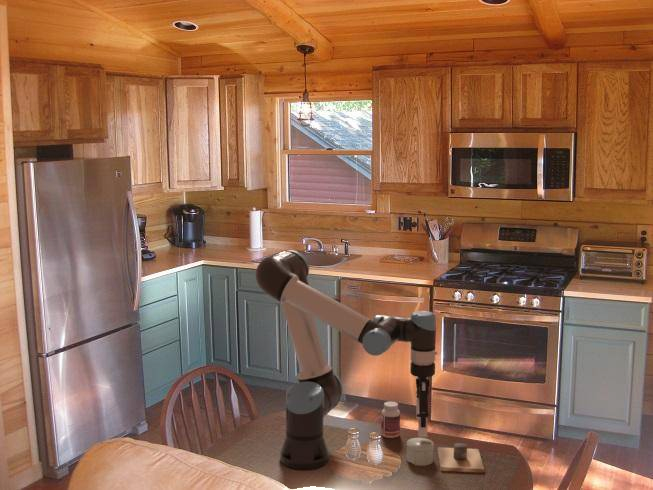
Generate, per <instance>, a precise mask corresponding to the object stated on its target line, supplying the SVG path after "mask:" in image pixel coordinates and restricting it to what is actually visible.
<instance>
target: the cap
mask: <svg viewBox="0 0 653 490" xmlns="http://www.w3.org/2000/svg"><path fill="white" fill-rule="evenodd" d="M434 444H435V443H434V442H433V441H432V440H431V439H428V438H427V437H413V438H409V439H408V440H407V441H406V462H407V461H409V462H411V463H412V464H411V463H410V464H411V465H413V464H414V466H421V467H424V466H425V467H426V466H428V465H430V464H433V462H434V446H435V445H434ZM409 462H408V463H409Z"/></svg>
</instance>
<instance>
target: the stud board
mask: <svg viewBox="0 0 653 490" xmlns="http://www.w3.org/2000/svg"><path fill="white" fill-rule="evenodd" d="M436 452H437V456H438V461H439V463H438V464H439V469H440V472H458V473H460V472H461V473H463V472H464V473H483V474H484V473H485V468H484V464H483V461H482V457H481V453H480V450H479V448H468V445H467V444H466V443H462V442H455V443H454V444H453V447H440V446H437V451H436Z"/></svg>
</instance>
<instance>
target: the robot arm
mask: <svg viewBox="0 0 653 490" xmlns="http://www.w3.org/2000/svg"><path fill="white" fill-rule="evenodd" d="M309 273H310V265H309V262H308V259H307V258H306V257H305V255H303V254H302V253H300V252H299V251H296V250H293V249H288V250H281V251H278V252H276V253H275V254H272V255H270V256H267V257H265V258H264V259H262V260H261V261H260V262H259V263H258V265H257V267H256V270H255V279H256V283H257V285H258V287H259V288H260V289H261V290H262V291H263V293H265V294H266V295H268V296H269V297H271V298H273V299H275V300H276V301H277V302H279V303H281V307H282V311H283V314H284V318H285V320H286V324H287V325H286V326H287V328H288V331H289V335H290V339H291V342H292V346H293V349H294V352H295V356H296V359H297V362H298V367H299V374H298V375H297V380H298V383H297V382H296V383H294V384H292V385H290V386H289V388H288V389H287V391H286V393H285V437H284V439H283V440H284V441H283V443H282V446H281V450H280V452H279V453H280V454H279V457H280V458H279V460H280V463H281V464H282V465H284V466H285V467H287V468H289V469H293V470H302V471H309V470H310V471H311V470H315V469H319V468H321V467H322V468H323V466H325V465H326V464H328V463H329V460H328V459H329V455H330V453H329V449H328V447H327V443H326V441H325V437H324V419H325V417H326V416H327V415H328V413H330V412H331V411H332V410H333V409H334V408H336V407H337V405H339V402H340V400H341V399H342V397H343V391H344V387H343V383H342V380H341V378H340V377H339V376H338V375H336V374H335V373H334V372H333V367H332V366H331V365H329V364H327V361H326V359H325V355H324V351H323V348H322V345H321V342H320V338H319V335H318V331H317V327H316V324H315V319H317V320H318V321H320V322H322V323H323V324H326V325H327V326H329V327H331V328H333V329H334V330H337V331H338V332H340V333H342V334H344V335H345V336H347V337H350V338H351V339H353V340H354V341H357V342H358V343H360V344H361V345H362V347H363V349H364V351H365V352H366V353H367V354H368V355H370V356H376V357H377V356H380V355H383V354H384V353H386V352H388V350H389V349H390V348H391V346H392V345H394V344H395V343H396V342H404V343H410V353H409V354H410V356H409V357H410V361H411V362H409V363H410V368H409V369H410V371H409V373H410V374H411V375H412V376H413V377H416V378H415V386H416V393H415V394H416V407H415V408H416V412H415V413H416V415H415V416H416V417H415V419H416V420H418V424H417V425H418V427H417V428H418V429H417V430H418V432H417V433H418V434H417V436H418V437H417V438H428V425H429V423H428V422H429V421H428V420H429V418H428V417H429V392H430V391H429V388H430V380H429V378H430V377H434V375H435V373H436V363H435V361H436V356H437V355H438V352H437V351H436V338H437V337H436V336H437V323H436V314H434V313H433V312H432V311H426V310H417V311H414V312H413V311H412V313H411V316H409V317H405V316H395V315H389V314H377V315H375V316H374V317H373V319H370V318H368V317H367V316H365V315H363V314H361V313H359V312H358V311H356V310H354V309H352V308H350V307H348V306H346V305H345V304H343V303H341V302H339V301H338V300H336V299H334V298H332V297H330V296H328V295H326V293H325V294H324V293H323V292H321V291H319V290H318V289H315V288H314V287H312V286H310V285H309V281H308V276H309ZM314 318H315V319H314Z"/></svg>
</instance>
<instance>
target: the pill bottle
mask: <svg viewBox="0 0 653 490" xmlns="http://www.w3.org/2000/svg"><path fill="white" fill-rule="evenodd" d="M400 427H401V411H400V410H399V403H398V402H396V401H385V402H384V404H383V409H382V410H381V430H380V431H381V436H382V437H384V438H387V439H388V438H389V439H395V437H396V438H398V437H399V436H400V432H401V431H400V430H401V429H400Z"/></svg>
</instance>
